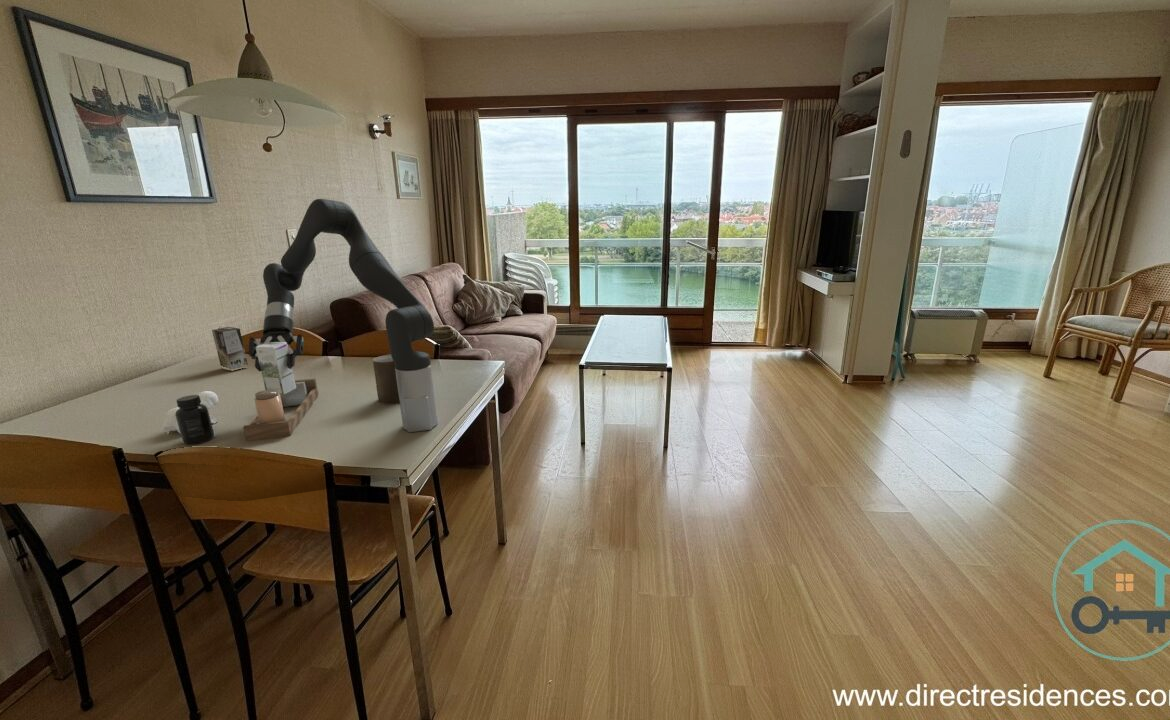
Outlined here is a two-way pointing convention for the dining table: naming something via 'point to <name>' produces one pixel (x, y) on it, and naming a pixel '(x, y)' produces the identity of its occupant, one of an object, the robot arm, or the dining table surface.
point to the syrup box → (275, 367)
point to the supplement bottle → (193, 420)
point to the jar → (269, 406)
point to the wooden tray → (283, 427)
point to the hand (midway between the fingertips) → (274, 368)
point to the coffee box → (230, 347)
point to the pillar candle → (386, 379)
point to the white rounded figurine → (170, 419)
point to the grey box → (294, 395)
